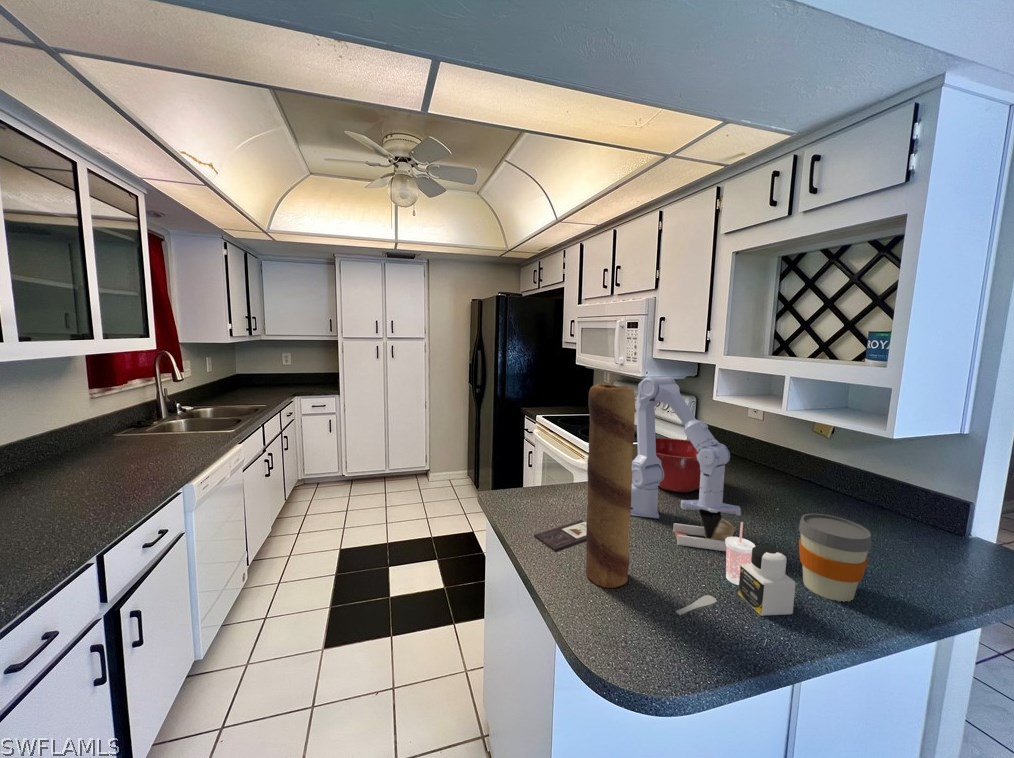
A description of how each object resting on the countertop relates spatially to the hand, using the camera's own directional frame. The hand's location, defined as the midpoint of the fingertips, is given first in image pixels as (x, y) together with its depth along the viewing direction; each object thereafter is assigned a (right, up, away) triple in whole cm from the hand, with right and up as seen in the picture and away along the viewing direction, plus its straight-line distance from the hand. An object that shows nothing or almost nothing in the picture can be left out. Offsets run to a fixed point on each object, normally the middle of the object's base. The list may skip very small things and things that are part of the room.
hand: (708, 536), depth 110 cm
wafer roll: (-32, -3, -16) cm, 36 cm away
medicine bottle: (-1, -5, -25) cm, 25 cm away
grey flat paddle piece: (-21, -5, -29) cm, 36 cm away
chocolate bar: (-38, -1, +3) cm, 38 cm away
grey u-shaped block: (-2, -2, +1) cm, 2 cm away
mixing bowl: (+9, +2, +42) cm, 43 cm away
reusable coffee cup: (+17, -4, -19) cm, 26 cm away
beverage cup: (-2, -4, -17) cm, 17 cm away
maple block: (+2, -1, 0) cm, 2 cm away
